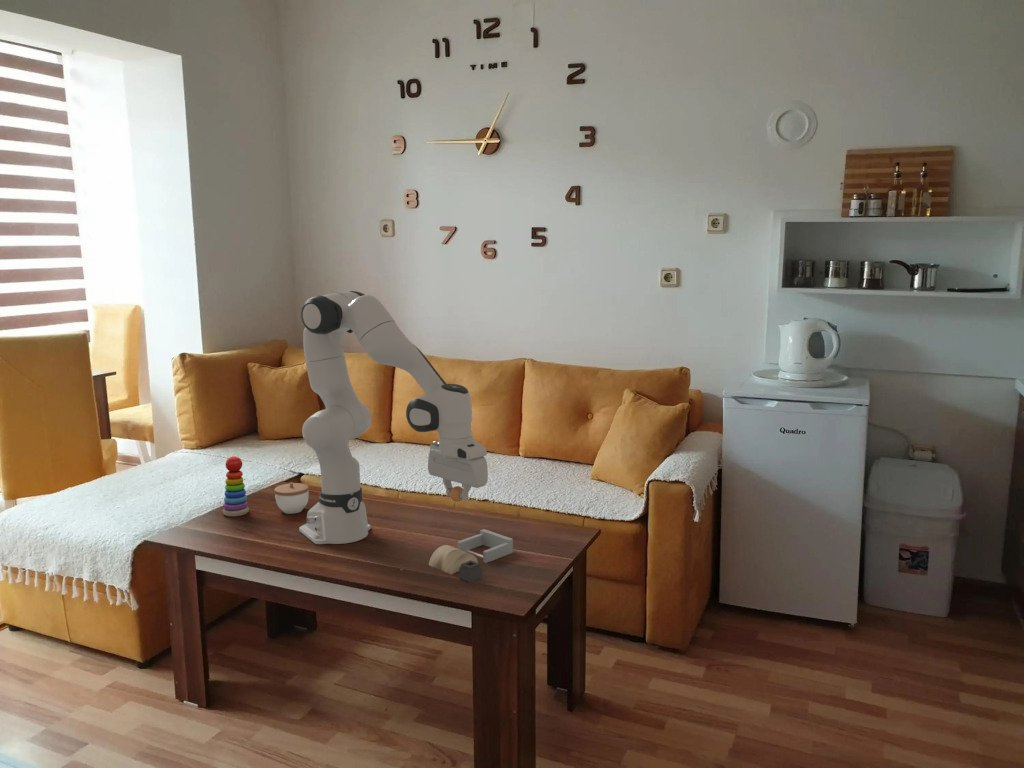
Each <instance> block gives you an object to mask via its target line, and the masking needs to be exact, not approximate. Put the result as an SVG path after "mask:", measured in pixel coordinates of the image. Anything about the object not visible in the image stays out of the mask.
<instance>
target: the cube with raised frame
mask: <svg viewBox="0 0 1024 768" xmlns="http://www.w3.org/2000/svg"><path fill="white" fill-rule="evenodd" d="M482 568H483V567H482V566H481V564H480V563H479V562H478V563H477V562H474V561H471V560H470V561H468V562H465V563H462V564H461V567H459V571H458V573H459V579H461V580H463V581H466V582H468V583H472V582H475V581H476V580H480V579H482V577H483V576H482V575H483V571H482Z"/></svg>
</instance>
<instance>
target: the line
mask: <svg viewBox="0 0 1024 768" xmlns="http://www.w3.org/2000/svg"><path fill="white" fill-rule="evenodd" d="M465 552H467V553H470V554H472V555H474V556H477V557H479V558H483V554H480V553H477V552H475V551H472V550H471V549H470V550H467V551H465Z"/></svg>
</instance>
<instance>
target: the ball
mask: <svg viewBox="0 0 1024 768" xmlns="http://www.w3.org/2000/svg"><path fill="white" fill-rule="evenodd" d="M452 487H453V486H452ZM462 491H463V487H462V486H459V485H458V486H457V485H456V486H454V487H453V488H452V489H451V491H450V495H449V498H450V499H451V500H452V501H453V502H461V501H463V499H460V492H462Z"/></svg>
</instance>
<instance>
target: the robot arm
mask: <svg viewBox="0 0 1024 768" xmlns="http://www.w3.org/2000/svg"><path fill="white" fill-rule="evenodd" d="M300 318H301V321H302V324H303V327H304V329H303V333H302V334H303V335H302V340H303V342H302V343H303V354H304V359H305V360H304V361H305V365H306V370H307V376H308V381H309V386H310V388H311V390H312V391H313V392H314V393H315V394H316V395H318V396H319V397H320V399H321V401H322V402H323V404H324V406H325V408H324V409H321V410H318V411H317V412H314V414H312V415H310V416H309V417H308V418H307V419H306V420H305V421H304V422H303V425H302V427H301V428H302V429H301V433H302V438H303V440H304V442H305V443H306V444H307V445H308V446H309V447H310V448H311V449H312V450H314V453H315V455H316V458H317V460H318V463H319V468H320V480H321V489H319V490H317V492H318V493H317V495H319V496H318V502H317V503H315V504H314V505H313V506H312V507H311V508H310V509H309V510H307V512H306V513H307V514H306V523H304V524H303V525H301V526H299V528H298V531H299V532H300V533H301V534H303V536H305V537H306V538H307V539H309V540H310V541H311V542H312V543H314V544H315V545H325V544H326V545H327V544H331V545H340V544H341V545H342V544H349V543H354V542H355V543H356V542H358V541H361V540H363V539H365V538H366V537H368V535H369V531H370V530H371V529H372V528H371V524H369V523H368V517H367V510H366V504H365V503H364V501H363V494H364V493H363V487H362V486H361V476H360V475H361V473H360V471H361V470H360V469H361V468H360V462H359V461H358V460H357V459H356V458H355V457H353V455H352V452H351V449H350V441H352V440H355V439H357V438H359V437H361V436H362V435H364V433H365V432H367V431H368V430H369V429H370V427H371V425H372V414H371V411H370V409H369V408H368V406H367V405H366V404H364V402H363V403H362V402H361V400H360V399H359V397H358V396H357V394H356V391H355V389H354V387H353V386H352V382H351V380H350V379H351V378H350V375H349V371H348V366H347V361H346V357H345V350H344V346H343V337H344V334H345V333H348V334H352V333H353V334H354V335H355V337H356V338H357V340H358V341H359V344H360V346H361V347H362V348H363V350H364V352H365V353H366V355H367V356H369V358H371V360H372V361H373V362H375V363H378V364H380V365H383V366H384V365H385V366H391V367H395V368H397V369H400V370H403V371H404V372H407V373H409V374H410V375H411V377H412V378H413V379H414V381H416V383H417V385H419V387H420V388H421V389H422V391H423V392H424V393H425V394H423V395H420V396H417V397H415V398H413V399H411V400H410V401H409V402H408V404H407V406H406V410H405V416H406V422H407V423H408V424H409V426H410V427H411V429H413V430H414V431H415V432H419V433H428V432H433V431H435V432H436V431H437V433H438V441H436V440H435V441H433V442H432V443H431V444H430V446H429V453H428V458H427V471H428V473H429V475H431V476H433V477H438V478H440V479H442V483H443V486H444V488H445V493H446V495H447V496H450V491H451V489H452V488H453V484H452V482H455V483H458V484H461V488H463V491H462V492H460V499H462V501H465V500H469V493H470V491H471V488H476V489H479V488H482V487H485V486H486V485H487V483H488V479H489V478H488V476H489V475H488V474H489V470H488V462H487V461H488V460H487V459H486V458H485V456H487V455H488V454H487V453H488V451H487V447H485V446H484V445H482V444H481V443H479V442H478V440H476V439H475V438H474V436H473V434H474V433H473V430H472V423H473V422H472V421H473V408H472V406H473V405H472V397H471V394H470V393H471V392H469V389H468V388H466V387H465V386H463V385H461V384H456V383H447V382H446V381H445V380H444V378H443V377H442V376H441V375H440V373H439V372H438V371H437V370H436V369H435V367H434V366H433V364H432V363H431V362H430V361H429V359H428V358H427V357H426V356H425V355H424V353H423V352H422V351H421V349H419V348H418V347H417V346H416V345H415V344H414V343H412V342H411V341H410V339H409V338H408V337H407V336H406V335H405V333H404V332H403V331H402V329H400V327H399V326H398V325H397V323H396V321H395V320H394V318H393V316H392V315H391V313H390V312H389V311H388V310H387V308H385V306H384V305H383V304H382V302H380V301H379V300H378V299H377V297H376V296H373V295H372V294H371V295H370V294H365V293H363V292H360V291H357V290H356V291H354V290H349V291H335V292H332V293H326V294H322V295H321V294H319V295H316V296H313V297H310V298H308V299H307V300H305V302H304V303H303V305H302V307H301V311H300Z"/></svg>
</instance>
